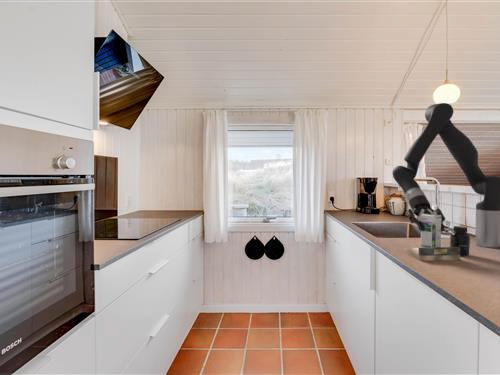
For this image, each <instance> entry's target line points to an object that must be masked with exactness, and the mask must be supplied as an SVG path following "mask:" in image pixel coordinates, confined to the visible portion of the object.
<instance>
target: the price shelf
mask: <svg viewBox="0 0 500 375" xmlns="http://www.w3.org/2000/svg"><path fill="white" fill-rule="evenodd" d="M403 253H404V254H406V255H408V256H411V257H412V258H414V259H416V260H418V261H422V262H423V261H425V262H426V261H427V262H428V261H431V262H432V261H460V260H461V256H460V248H459V247H450V246H447V247H445V246H443V247H428V248H420V247H403Z"/></svg>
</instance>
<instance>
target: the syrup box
mask: <svg viewBox="0 0 500 375" xmlns="http://www.w3.org/2000/svg"><path fill="white" fill-rule="evenodd" d="M421 222H422V223H423V225H424V227H425V230H424V231H421V230H420V247H419V248H428V247H441V245H442V244H441V242H442V231H441V215H434V214H422V215H421Z"/></svg>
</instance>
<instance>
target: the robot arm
mask: <svg viewBox="0 0 500 375" xmlns="http://www.w3.org/2000/svg"><path fill="white" fill-rule="evenodd" d="M453 116H454V107H453V106H452V105H451V104H450V103H446V102H440V103H435V104H431V105H430V106H428V107H427V108H426V109H425V112H424V117H425V120H426V122H427V125H426V127H425V128H424V129H423V131H422V132H421V134H420V135H419V136H418V137H417V138H416V139H415V140H414V141H413V142H412V145H410V147H409V149H408V151H407V153H406V155H405V156H404V160H403V161H404V162H406V164H407V165H406V166H403V165H397V166H395V167H394V168H393V170H392V178H393V179H394V181H395V182H396V183H397V184H398V186H399V187H400V188H401V189H402V192H403V193H404V196H405V198H406V201H407V203H408V205H409V207H410V208H409V209H408V210H407V211H406V215H407V217H408V219H409V221H410V223H411V224H415V225H417V228H418V229H419V231H420V232H421V231H424V230H425V227H424V225H423V223H422V222H421V215H422V214H434V215H441V232H444V230H445V229H446V226H445V225H444V221H445V220H446V217H445V216H444V214H443V212H442V211H441V209H440V208H438V209H437V210H433V209H432V208H433V207H432V206H431V203H430V201H429V200H428V198H427V196H426V194H425V192H424V191H423V190H422V188H421V186H420V184H419V183H418V182H417V180H415V178H416V176H417V173H418V170H419V167H420V163H421V162H422V160H423V158H424V156H425V155H426V153H427V152H428V149H429V148H430V146H431V145H432V143H433V142H434V141H435V139H436V137H437V136H438V135H439V138H441V140H442V142H443V144H444V145H445V147H446V148H447V150H448V151H449V153H450V154H451V156H452V157H453V159H454V160H455V161H456V163H457V164H458V166H459V168H460V169H461V171H462V172H463V174H464V175H465V177H466V179H467V181H468V183H469V185H470V186H471V188H472V190H473V192H475V193H476V194H478V195H481V196H483V200H482V201H480V202H477V203H476V204H475V232H474V233H475V240H474V241H475V242H474V244H475V245H476V246H479V247H484V248H494V249H495V248H500V176H496V175H486V174H484V173H483V171H482V170H481V168H480V166H479V152H478V149H477V148H476V146H475V144H474V143H473V141H471V139H470V138H469V137H468V136H467V135H466V134H465V133H464V132H462V130H460V129H459V128H458V127H456V125H455V124H454V123H453V122H452V121H451V119H452V118H453ZM415 216H416V217H415Z"/></svg>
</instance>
